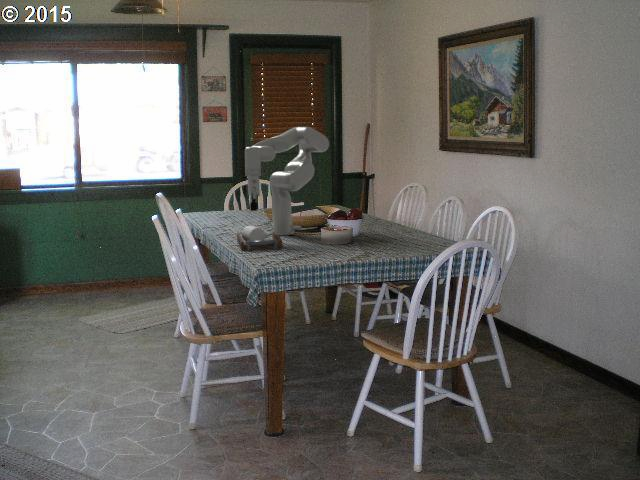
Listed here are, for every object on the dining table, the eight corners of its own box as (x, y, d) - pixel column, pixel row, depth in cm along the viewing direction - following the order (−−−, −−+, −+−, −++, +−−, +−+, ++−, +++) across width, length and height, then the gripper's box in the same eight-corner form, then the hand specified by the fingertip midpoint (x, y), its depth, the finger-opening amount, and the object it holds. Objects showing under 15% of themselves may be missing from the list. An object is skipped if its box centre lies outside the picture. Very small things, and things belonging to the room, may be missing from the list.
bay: (275, 239, 375) (274, 230, 374) (283, 249, 345) (282, 240, 345) (237, 241, 371) (236, 232, 371) (241, 251, 342) (241, 241, 341)
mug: (249, 245, 359) (249, 228, 357) (241, 242, 367) (241, 226, 366) (273, 243, 364) (273, 226, 363) (265, 240, 373) (264, 224, 372)
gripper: (262, 173, 365) (263, 212, 368) (259, 171, 380) (259, 208, 382) (246, 173, 364) (247, 212, 366) (243, 171, 378) (244, 209, 381)
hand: (253, 210), depth 374 cm, fingers closed
